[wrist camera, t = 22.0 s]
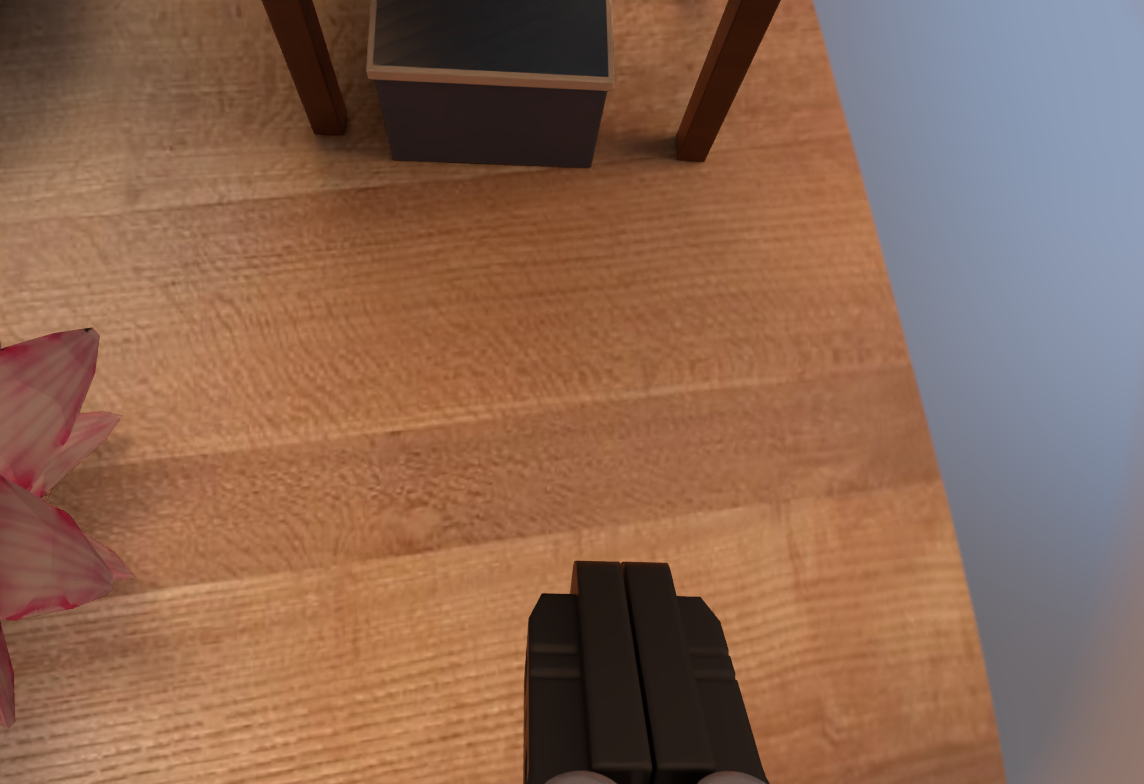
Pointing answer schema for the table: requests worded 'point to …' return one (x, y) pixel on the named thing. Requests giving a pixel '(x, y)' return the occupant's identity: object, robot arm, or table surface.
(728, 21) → the drawer unit
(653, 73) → the table surface
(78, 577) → the decorative flower
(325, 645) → the table surface
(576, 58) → the storage box
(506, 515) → the table surface
